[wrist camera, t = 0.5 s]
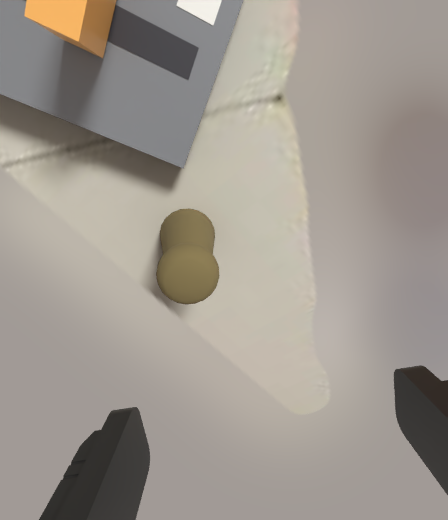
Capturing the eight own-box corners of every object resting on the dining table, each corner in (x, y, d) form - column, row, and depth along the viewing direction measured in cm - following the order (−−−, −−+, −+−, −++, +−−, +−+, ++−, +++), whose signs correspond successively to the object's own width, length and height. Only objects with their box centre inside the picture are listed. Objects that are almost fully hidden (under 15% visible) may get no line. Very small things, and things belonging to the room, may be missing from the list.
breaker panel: (-44, 70, 26) (-71, 65, 23) (-23, -190, 20) (-56, -238, 18) (183, 163, 31) (183, 168, 28) (250, -24, 25) (257, -41, 23)
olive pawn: (179, 269, 36) (177, 327, 26) (148, 227, 33) (132, 274, 24) (224, 243, 35) (239, 293, 25) (196, 198, 33) (200, 233, 23)
